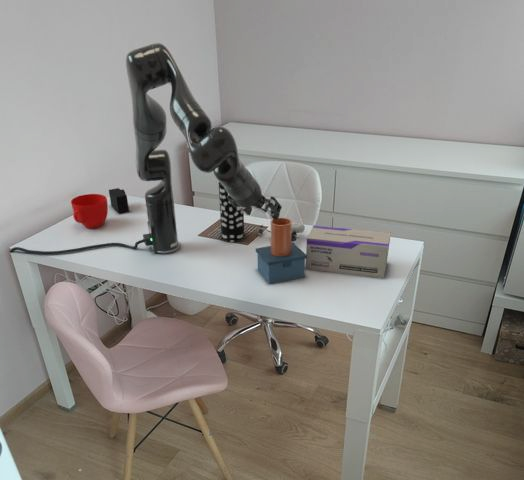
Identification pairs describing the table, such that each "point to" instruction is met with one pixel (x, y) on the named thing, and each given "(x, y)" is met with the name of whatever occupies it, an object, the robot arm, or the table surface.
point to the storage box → (281, 264)
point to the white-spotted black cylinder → (230, 218)
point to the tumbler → (281, 236)
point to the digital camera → (119, 200)
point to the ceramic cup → (90, 210)
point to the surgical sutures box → (347, 251)
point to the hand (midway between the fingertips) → (263, 214)
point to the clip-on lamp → (295, 229)
